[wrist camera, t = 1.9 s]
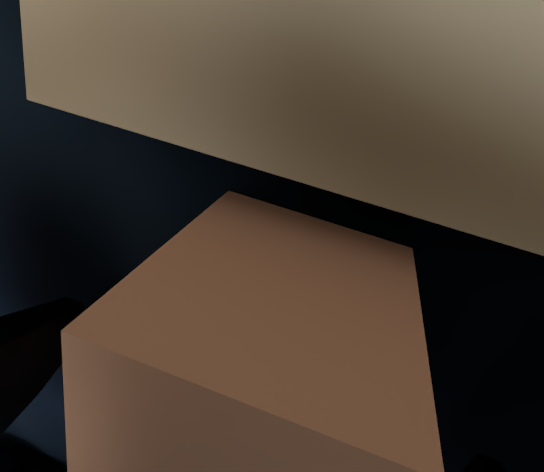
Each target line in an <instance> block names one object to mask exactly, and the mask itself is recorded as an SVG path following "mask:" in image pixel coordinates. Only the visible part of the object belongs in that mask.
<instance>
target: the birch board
mask: <svg viewBox="0 0 544 472" xmlns="http://www.w3.org/2000/svg"><path fill="white" fill-rule="evenodd" d="M20 12H21V25H22V39H23V53H24V67H25V80H26V94H27V100H30V101H33V102H37V103H40V104H43V105H46V106H50V107H53V108H56V109H60V110H63V111H66V112H70V113H73V114H76V115H80V116H83V117H86V118H89V119H93V120H96V121H99V122H103V123H106V124H109V125H113V126H116V127H119V128H122V129H126V130H129V131H132V132H136V133H139V134H142V135H146V136H149V137H152V138H156V139H159V140H162V141H165V142H169V143H172V144H175V145H179V146H182V147H185V148H189V149H192V150H195V151H199V152H202V153H205V154H208V155H212V156H215V157H218V158H222V159H225V160H228V161H232V162H235V163H238V164H241V165H245V166H248V167H251V168H255V169H258V170H261V171H265V172H268V173H271V174H275V175H278V176H281V177H284V178H288V179H291V180H294V181H298V182H301V183H304V184H308V185H311V186H314V187H317V188H321V189H324V190H327V191H331V192H334V193H337V194H341V195H344V196H347V197H351V198H354V199H357V200H360V201H364V202H367V203H370V204H374V205H377V206H380V207H384V208H387V209H390V210H393V211H397V212H400V213H403V214H407V215H410V216H413V217H417V218H420V219H423V220H427V221H430V222H433V223H436V224H440V225H443V226H446V227H450V228H453V229H456V230H460V231H463V232H466V233H470V234H473V235H476V236H479V237H483V238H486V239H489V240H493V241H496V242H499V243H503V244H506V245H509V246H512V247H516V248H519V249H522V250H526V251H529V252H532V253H536V254H539V255H542V256H544V0H20Z"/></svg>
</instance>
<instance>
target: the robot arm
mask: <svg viewBox="0 0 544 472" xmlns="http://www.w3.org/2000/svg"><path fill="white" fill-rule="evenodd" d="M83 312H84V306H83V304H82V303H81V302H79V301H76V300H73V299H71V298H61V299H58V300H54V301H51V302H48V303H44V304H41V305H37V306H34V307H31V308H27V309H24V310H21V311H17V312H14V313H11V314H7V315H4V316H1V317H0V435H1V434H2V433H3V432H4V431H5V430H6V429H7V428H8V427H9V425H10V424H11V423H12V422H13V421H14V420H15V419H16V418H17V417H18V416H19V415H20V414H21V412H22V411H23V410H24V409H25V408H26V407H27V406H28V405H29V404H30V403H31V402H32V400H33V399H34V398H35V397H36V396H37V395H38V394H39V392H40V391H41V390H42V389H43V387H44V386H45V385H46V383H47V382H48V381H49V380H50V378H51V377H52V376H53V374H54V373H55V372H56V370H57V369H58V368H59V366H60V365H61V364H62V344H61V330H62V329H64V328H65V327H66V326H67V325H68V324H70V323H71V322H72V321H73V320H74V319H76V318H77V317H78V316H79V315H80V314H82V313H83ZM0 472H67V471H65V470H63V469H61V468H59V467H57V466H54V465H52V464H50V463H48V462H45V461H43V460H41V459H39V458H36V457H34V456H32V455H30V454H28V453H25V452H23V451H21V450H19V449H16V448H14V447H12V446H10V445H7V444H5V443H3V442H1V441H0ZM462 472H508V471H507V470H506V468H505V467H504V466H503V464H502V463H501V462H500V461H498V460H496V459H494V458H491V457H488V456H486V455H483V454H476V455H475V456H474V457H473V458H472V459H471V461H470V462H469V463H468V465H467V466H466V467H465V469H464V470H463V471H462Z"/></svg>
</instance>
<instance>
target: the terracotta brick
mask: <svg viewBox="0 0 544 472" xmlns="http://www.w3.org/2000/svg"><path fill="white" fill-rule="evenodd" d="M61 344H62V365H63V387H64V408H65V429H66V450H67V472H444V467H443V460H442V453H441V446H440V439H439V432H438V425H437V417H436V410H435V403H434V396H433V389H432V382H431V375H430V368H429V361H428V354H427V346H426V339H425V332H424V325H423V318H422V311H421V304H420V297H419V290H418V283H417V275H416V268H415V261H414V254H413V248H410V247H407V246H404V245H401V244H397V243H394V242H391V241H388V240H385V239H381V238H378V237H375V236H372V235H369V234H366V233H362V232H359V231H356V230H353V229H350V228H346V227H343V226H340V225H337V224H334V223H331V222H327V221H324V220H321V219H318V218H315V217H311V216H308V215H305V214H302V213H299V212H295V211H292V210H289V209H286V208H283V207H280V206H276V205H273V204H270V203H267V202H264V201H260V200H257V199H254V198H251V197H248V196H245V195H241V194H238V193H235V192H232V191H228V192H226V193H225V194H224V195H223V196H222V197H220V198H219V199H218V200H217V201H216V202H214V203H213V204H212V205H211V206H210V207H209V208H207V209H206V210H205V211H204V212H203V213H201V214H200V215H199V216H198V217H197V218H195V219H194V220H193V221H192V222H191V223H189V224H188V225H187V226H186V227H185V228H183V229H182V230H181V231H180V232H179V233H177V234H176V235H175V236H174V237H173V238H171V239H170V240H169V241H168V242H167V243H165V244H164V245H163V246H162V247H161V248H159V249H158V250H157V251H156V252H155V253H153V254H152V255H151V256H150V257H149V258H147V259H146V260H145V261H144V262H143V263H141V264H140V265H139V266H138V267H137V268H135V269H134V270H133V271H132V272H131V273H129V274H128V275H127V276H126V277H125V278H123V279H122V280H121V281H120V282H119V283H117V284H116V285H115V286H114V287H113V288H112V289H110V290H109V291H108V292H107V293H106V294H104V295H103V296H102V297H101V298H100V299H98V300H97V301H96V302H95V303H94V304H92V305H91V306H90V307H89V308H88V309H86V310H85V311H84V312H83V313H82V314H80V315H79V316H78V317H77V318H76V319H74V320H73V321H72V322H71V323H70V324H68V325H67V326H66V327H65V328H64V329H62V330H61Z"/></svg>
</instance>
